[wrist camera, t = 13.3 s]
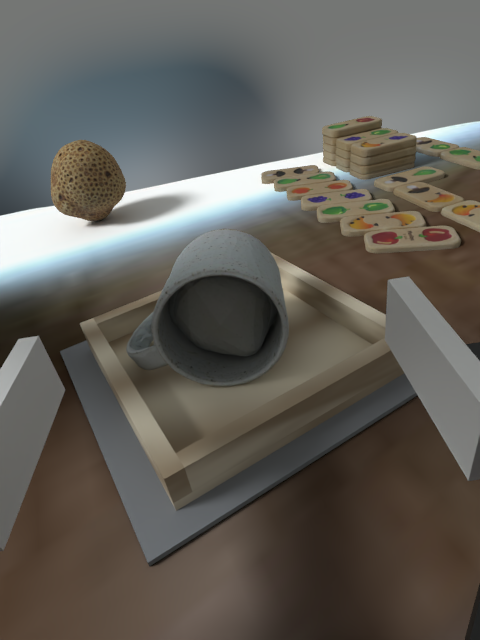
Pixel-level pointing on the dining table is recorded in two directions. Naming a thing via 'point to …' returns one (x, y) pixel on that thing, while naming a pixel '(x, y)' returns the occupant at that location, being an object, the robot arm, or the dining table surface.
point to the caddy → (245, 386)
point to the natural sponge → (86, 181)
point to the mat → (212, 507)
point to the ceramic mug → (217, 313)
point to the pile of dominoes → (381, 187)
